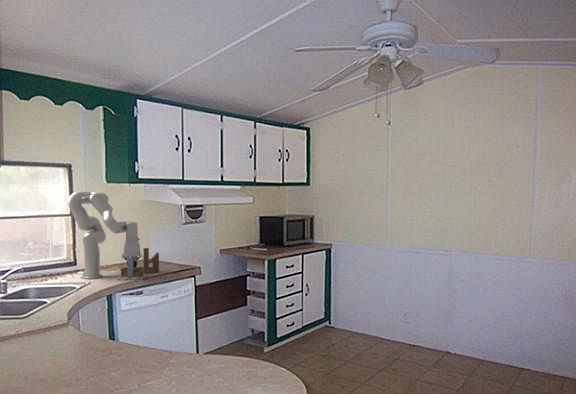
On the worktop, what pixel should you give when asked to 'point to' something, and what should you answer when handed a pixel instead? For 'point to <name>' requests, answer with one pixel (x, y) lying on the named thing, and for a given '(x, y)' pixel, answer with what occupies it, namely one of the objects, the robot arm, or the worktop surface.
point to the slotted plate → (131, 267)
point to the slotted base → (137, 274)
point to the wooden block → (153, 260)
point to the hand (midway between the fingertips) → (132, 266)
